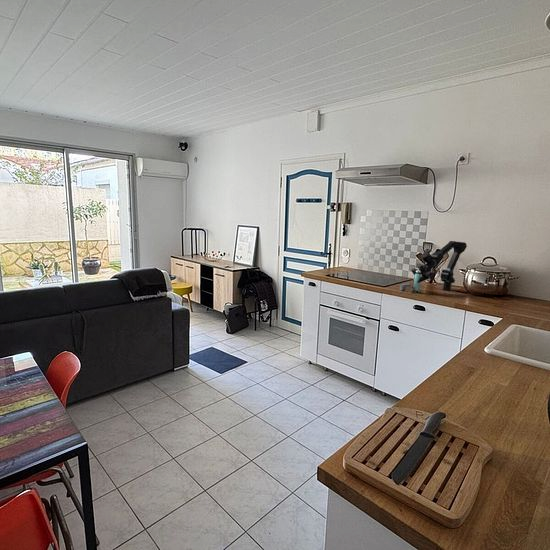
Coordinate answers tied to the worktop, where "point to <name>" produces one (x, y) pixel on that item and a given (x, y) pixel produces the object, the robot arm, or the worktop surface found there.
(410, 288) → the block
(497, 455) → the worktop surface
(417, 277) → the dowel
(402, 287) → the backstop
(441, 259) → the robot arm
